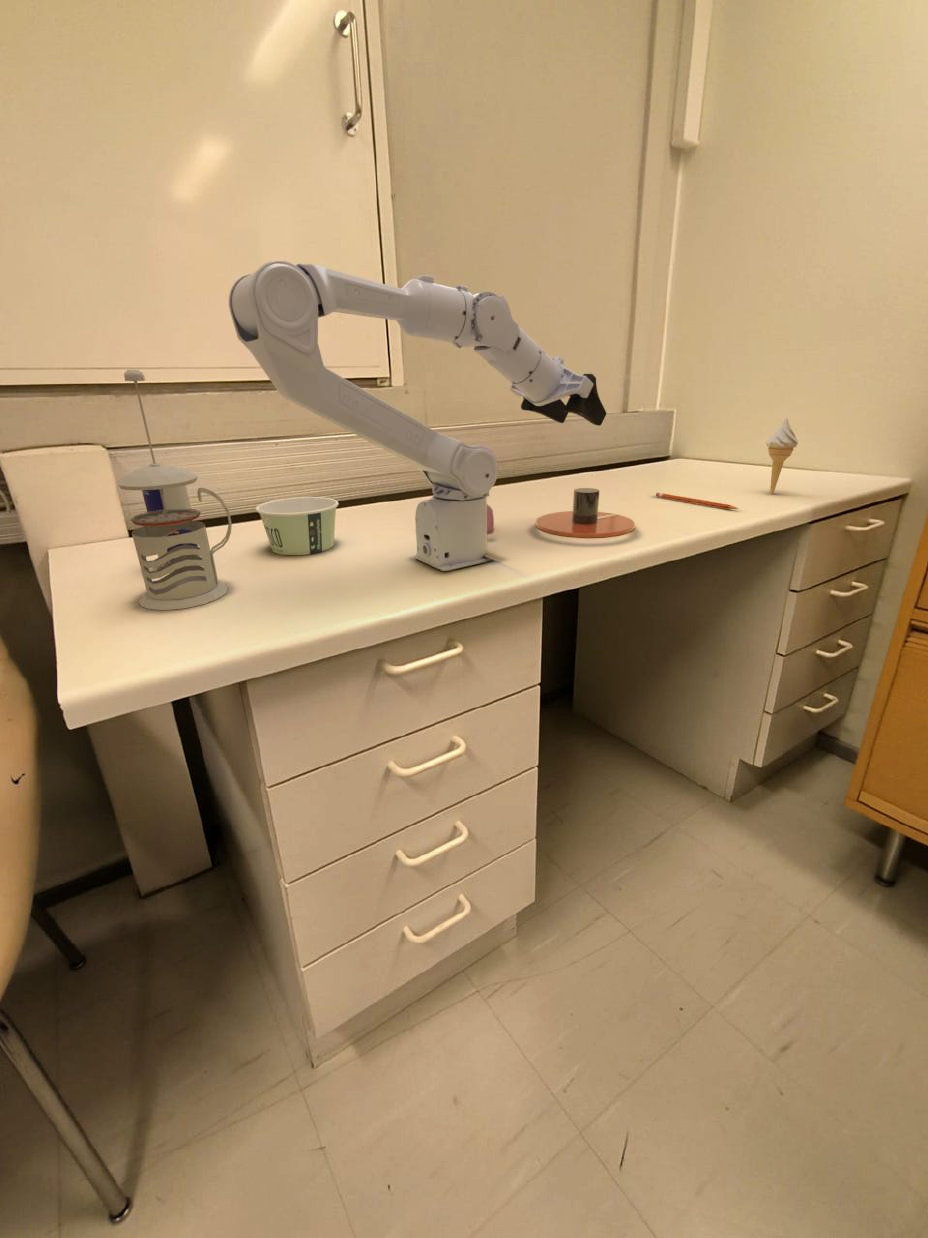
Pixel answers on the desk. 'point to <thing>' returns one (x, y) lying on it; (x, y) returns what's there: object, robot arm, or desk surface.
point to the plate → (584, 530)
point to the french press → (172, 538)
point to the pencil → (696, 501)
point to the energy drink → (172, 500)
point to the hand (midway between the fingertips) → (582, 418)
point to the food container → (299, 524)
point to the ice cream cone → (780, 450)
